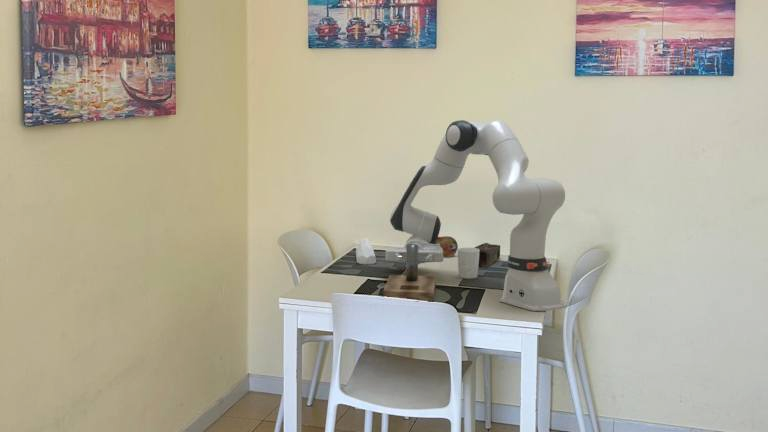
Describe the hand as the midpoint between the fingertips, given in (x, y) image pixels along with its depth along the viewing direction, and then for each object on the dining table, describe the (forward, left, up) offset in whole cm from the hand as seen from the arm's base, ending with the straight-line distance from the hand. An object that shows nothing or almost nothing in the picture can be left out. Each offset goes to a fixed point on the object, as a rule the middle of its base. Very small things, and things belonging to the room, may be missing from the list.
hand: (413, 259), depth 293 cm
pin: (-3, +2, -7) cm, 8 cm away
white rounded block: (+49, -5, -10) cm, 50 cm away
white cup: (+5, -25, -10) cm, 28 cm away
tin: (+41, -33, -10) cm, 54 cm away
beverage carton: (+25, -44, -10) cm, 52 cm away
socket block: (-7, +5, -10) cm, 13 cm away
